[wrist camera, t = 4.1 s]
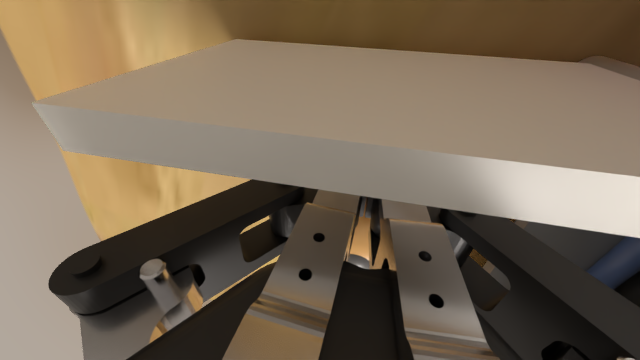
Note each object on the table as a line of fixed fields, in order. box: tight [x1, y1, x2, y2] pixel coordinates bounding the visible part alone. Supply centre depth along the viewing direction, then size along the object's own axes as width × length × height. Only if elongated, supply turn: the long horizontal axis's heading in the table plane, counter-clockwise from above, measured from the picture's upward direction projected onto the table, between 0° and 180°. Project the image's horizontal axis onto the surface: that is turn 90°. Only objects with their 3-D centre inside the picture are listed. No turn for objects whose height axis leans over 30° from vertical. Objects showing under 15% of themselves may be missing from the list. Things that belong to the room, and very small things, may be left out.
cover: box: [32, 39, 640, 238], centre depth 7 cm, size 15×1×8 cm, turn 88°
